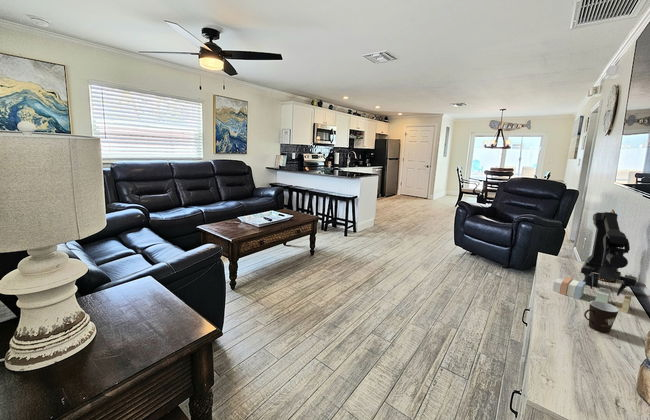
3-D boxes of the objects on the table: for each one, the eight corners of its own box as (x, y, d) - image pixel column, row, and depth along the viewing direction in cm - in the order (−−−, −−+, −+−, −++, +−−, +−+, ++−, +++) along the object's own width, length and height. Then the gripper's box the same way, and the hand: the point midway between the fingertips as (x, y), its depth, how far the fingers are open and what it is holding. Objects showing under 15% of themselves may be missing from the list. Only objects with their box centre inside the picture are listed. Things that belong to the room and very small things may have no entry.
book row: (556, 286, 158) (558, 274, 157) (583, 293, 150) (585, 282, 149) (551, 291, 152) (554, 279, 151) (579, 299, 144) (581, 287, 143)
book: (597, 298, 146) (600, 287, 145) (608, 301, 143) (611, 290, 142) (594, 304, 140) (596, 292, 139) (605, 307, 137) (608, 295, 136)
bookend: (615, 304, 141) (618, 292, 139) (629, 307, 137) (631, 295, 136) (613, 309, 136) (616, 297, 134) (627, 313, 132) (630, 301, 131)
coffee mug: (606, 324, 123) (611, 302, 121) (618, 336, 115) (624, 313, 113) (572, 319, 127) (576, 298, 125) (582, 330, 119) (586, 308, 117)
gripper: (581, 259, 139) (575, 289, 142) (638, 271, 125) (630, 305, 128) (586, 254, 146) (580, 283, 149) (640, 265, 132) (632, 297, 135)
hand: (604, 292), depth 140 cm, fingers open, 9 cm apart
